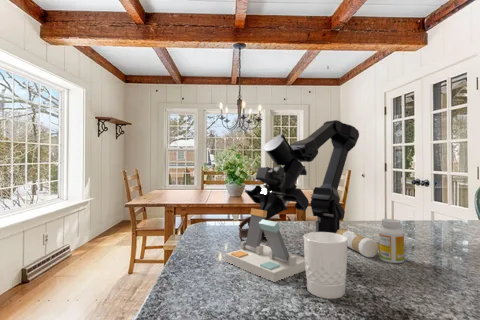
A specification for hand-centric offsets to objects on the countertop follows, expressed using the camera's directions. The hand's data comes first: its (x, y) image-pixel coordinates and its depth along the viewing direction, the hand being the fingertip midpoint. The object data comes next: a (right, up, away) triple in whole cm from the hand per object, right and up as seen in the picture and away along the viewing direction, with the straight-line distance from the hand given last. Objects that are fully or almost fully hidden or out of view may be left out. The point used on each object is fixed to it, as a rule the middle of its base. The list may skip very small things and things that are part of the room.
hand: (259, 222), depth 71 cm
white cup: (+11, -9, -19) cm, 24 cm away
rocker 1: (-2, -6, -2) cm, 7 cm away
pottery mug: (0, -9, +18) cm, 20 cm away
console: (+1, -9, -6) cm, 10 cm away
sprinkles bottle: (+25, -7, +12) cm, 29 cm away
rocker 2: (+4, -6, -9) cm, 12 cm away
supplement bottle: (+32, -9, -3) cm, 33 cm away
